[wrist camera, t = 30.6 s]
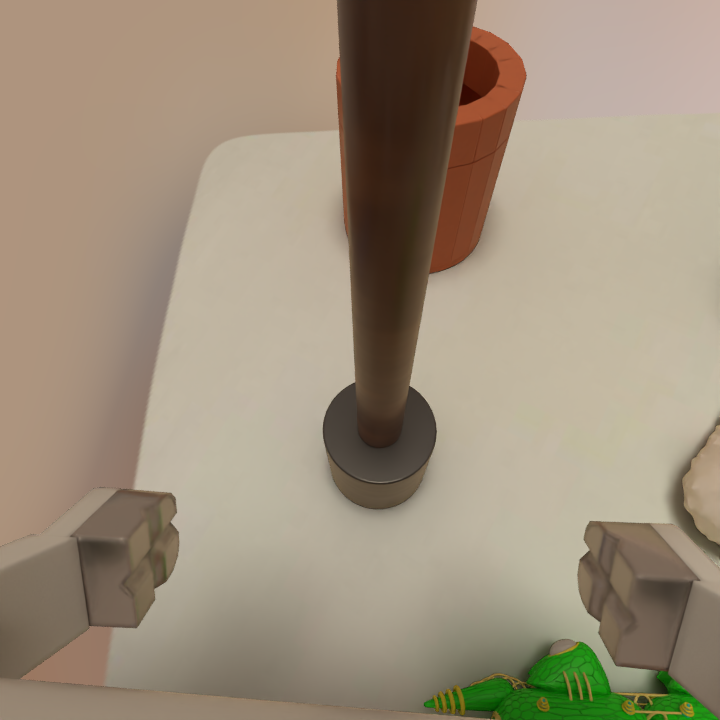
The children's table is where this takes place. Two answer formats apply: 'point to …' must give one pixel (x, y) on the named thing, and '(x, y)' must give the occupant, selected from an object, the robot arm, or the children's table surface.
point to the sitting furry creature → (705, 488)
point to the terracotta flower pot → (470, 144)
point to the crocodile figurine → (568, 693)
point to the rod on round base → (392, 229)
